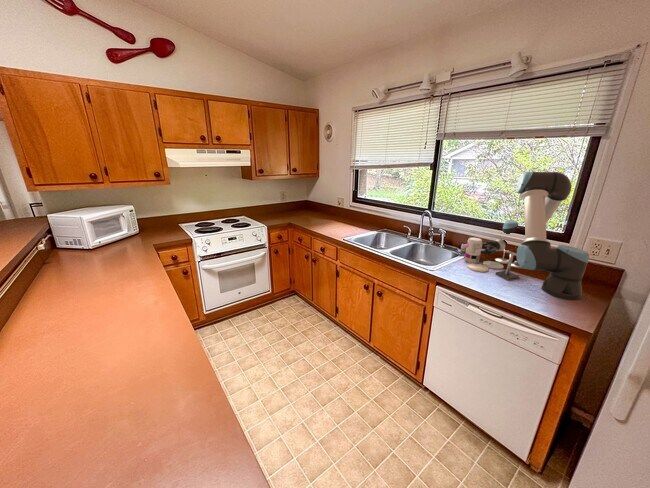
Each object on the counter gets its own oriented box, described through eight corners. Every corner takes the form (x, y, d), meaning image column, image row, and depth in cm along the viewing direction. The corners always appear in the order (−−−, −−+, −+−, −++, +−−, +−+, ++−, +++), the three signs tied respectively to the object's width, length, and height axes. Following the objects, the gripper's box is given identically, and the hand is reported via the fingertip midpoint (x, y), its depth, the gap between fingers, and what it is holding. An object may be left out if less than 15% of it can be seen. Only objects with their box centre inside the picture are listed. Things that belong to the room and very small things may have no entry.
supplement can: (462, 261, 171) (466, 239, 167) (466, 258, 177) (470, 236, 172) (476, 264, 166) (480, 242, 161) (480, 261, 172) (484, 238, 167)
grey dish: (507, 268, 161) (508, 266, 161) (493, 270, 158) (494, 269, 158) (491, 261, 171) (492, 260, 171) (478, 263, 168) (478, 262, 168)
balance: (525, 277, 149) (533, 248, 144) (500, 282, 144) (507, 252, 138) (512, 271, 157) (518, 244, 151) (487, 276, 151) (493, 247, 146)
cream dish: (492, 270, 158) (493, 269, 157) (478, 273, 154) (478, 271, 154) (477, 263, 168) (477, 262, 167) (463, 266, 164) (463, 264, 164)
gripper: (510, 257, 165) (483, 261, 158) (479, 245, 186) (453, 249, 179) (513, 245, 163) (485, 249, 156) (481, 235, 183) (455, 238, 177)
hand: (468, 249), depth 168 cm, fingers open, 10 cm apart
